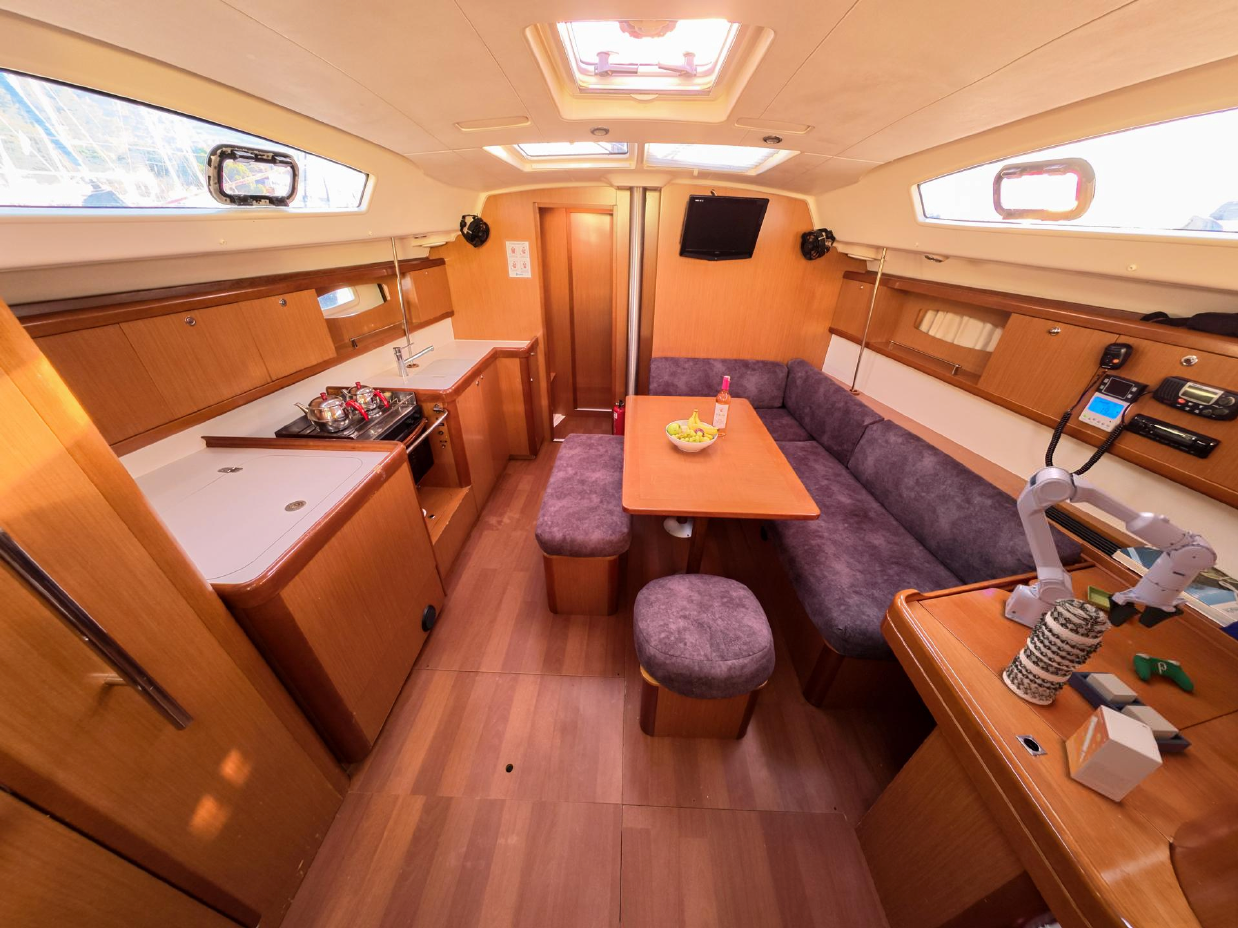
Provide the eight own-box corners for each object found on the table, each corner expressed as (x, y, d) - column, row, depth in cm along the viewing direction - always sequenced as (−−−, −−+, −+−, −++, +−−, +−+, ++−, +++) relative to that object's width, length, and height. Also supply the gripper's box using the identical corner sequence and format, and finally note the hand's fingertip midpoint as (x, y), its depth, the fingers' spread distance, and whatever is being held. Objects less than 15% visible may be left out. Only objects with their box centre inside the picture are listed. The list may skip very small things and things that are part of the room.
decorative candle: (1031, 709, 87) (1096, 629, 76) (990, 671, 95) (1043, 593, 84) (1065, 703, 88) (1134, 624, 77) (1022, 666, 96) (1078, 589, 85)
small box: (1063, 742, 81) (1100, 703, 75) (1109, 765, 77) (1151, 726, 71) (1069, 777, 75) (1109, 737, 69) (1119, 803, 72) (1165, 764, 66)
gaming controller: (1179, 689, 94) (1175, 662, 96) (1197, 692, 90) (1193, 664, 92) (1128, 677, 96) (1125, 650, 98) (1144, 679, 93) (1140, 652, 95)
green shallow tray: (1083, 604, 115) (1087, 598, 114) (1084, 589, 121) (1088, 584, 120) (1129, 622, 110) (1133, 616, 109) (1127, 606, 115) (1131, 600, 114)
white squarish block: (1104, 706, 87) (1115, 694, 85) (1081, 684, 92) (1090, 673, 90) (1127, 706, 87) (1138, 695, 85) (1103, 685, 92) (1113, 673, 90)
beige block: (1142, 741, 81) (1154, 730, 79) (1115, 716, 85) (1126, 705, 83) (1166, 742, 81) (1179, 730, 79) (1138, 717, 85) (1150, 706, 83)
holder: (1141, 751, 80) (1151, 742, 78) (1065, 679, 93) (1072, 671, 92) (1182, 752, 80) (1192, 743, 78) (1100, 680, 93) (1107, 672, 92)
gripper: (1152, 594, 87) (1116, 637, 93) (1218, 596, 87) (1178, 638, 93) (1117, 572, 93) (1085, 613, 100) (1179, 573, 93) (1143, 615, 100)
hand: (1128, 624), depth 97 cm, fingers open, 7 cm apart
